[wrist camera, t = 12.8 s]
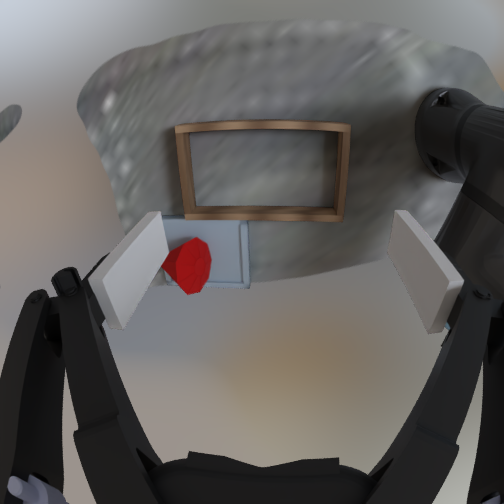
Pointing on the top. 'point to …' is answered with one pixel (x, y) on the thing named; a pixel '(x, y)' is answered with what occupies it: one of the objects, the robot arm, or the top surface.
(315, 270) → the top surface
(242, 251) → the tray
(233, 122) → the frame
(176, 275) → the gemstone
